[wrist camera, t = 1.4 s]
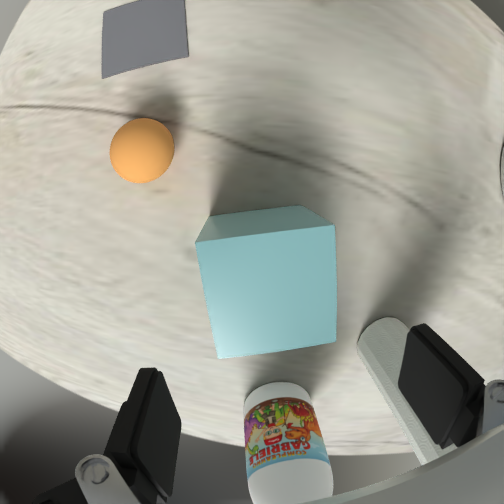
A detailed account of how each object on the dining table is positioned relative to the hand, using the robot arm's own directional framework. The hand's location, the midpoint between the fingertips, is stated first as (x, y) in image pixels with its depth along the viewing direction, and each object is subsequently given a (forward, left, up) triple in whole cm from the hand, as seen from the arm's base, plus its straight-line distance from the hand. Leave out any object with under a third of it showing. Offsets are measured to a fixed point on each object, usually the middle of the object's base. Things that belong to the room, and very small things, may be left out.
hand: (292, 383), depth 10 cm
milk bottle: (0, +18, -16) cm, 24 cm away
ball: (+8, -10, -14) cm, 19 cm away
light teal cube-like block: (0, 0, -16) cm, 16 cm away
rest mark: (+8, -22, -16) cm, 28 cm away
